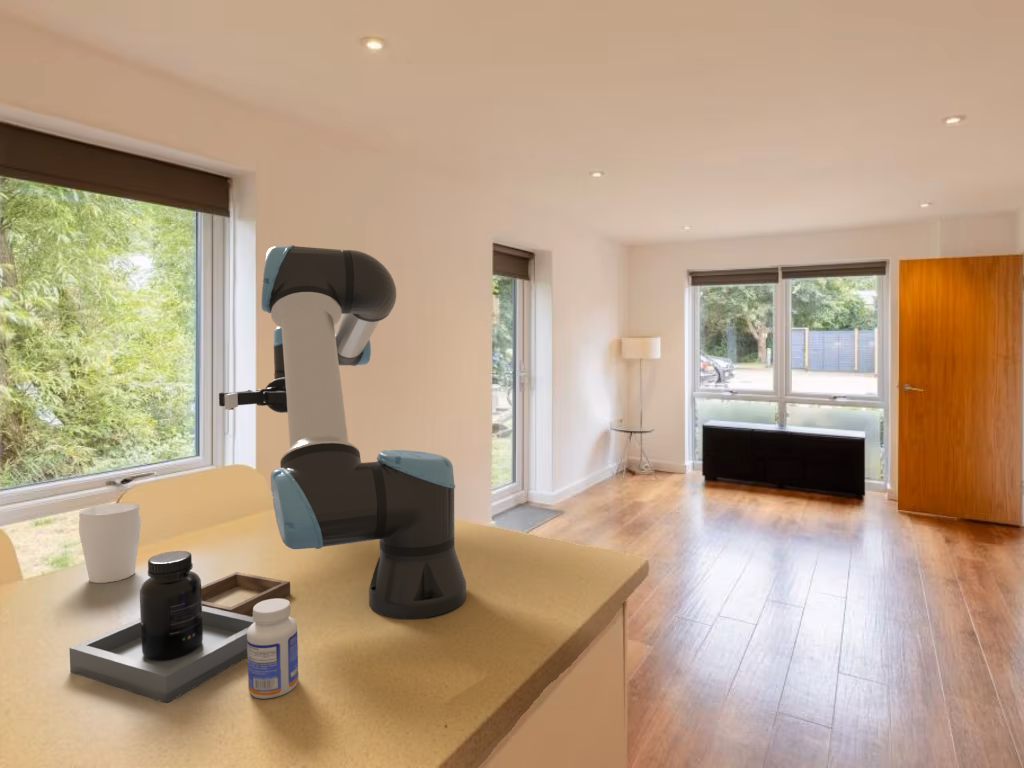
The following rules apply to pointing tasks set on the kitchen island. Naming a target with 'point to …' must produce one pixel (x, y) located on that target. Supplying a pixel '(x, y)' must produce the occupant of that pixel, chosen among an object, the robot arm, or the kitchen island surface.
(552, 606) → the kitchen island surface
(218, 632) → the tray
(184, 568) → the supplement bottle
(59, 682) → the kitchen island surface
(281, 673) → the pill bottle
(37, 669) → the kitchen island surface
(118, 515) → the cup
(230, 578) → the bottle holder
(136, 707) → the kitchen island surface
